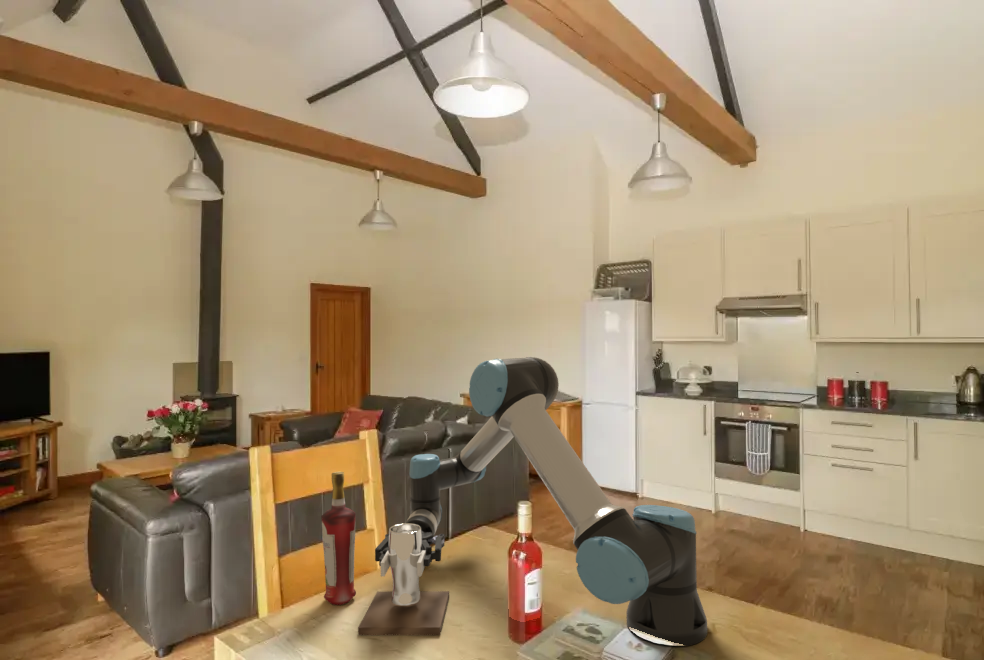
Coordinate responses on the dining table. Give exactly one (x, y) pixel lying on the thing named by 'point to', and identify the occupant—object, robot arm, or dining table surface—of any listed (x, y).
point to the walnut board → (405, 615)
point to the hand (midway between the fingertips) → (400, 569)
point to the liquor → (339, 546)
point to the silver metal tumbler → (405, 563)
